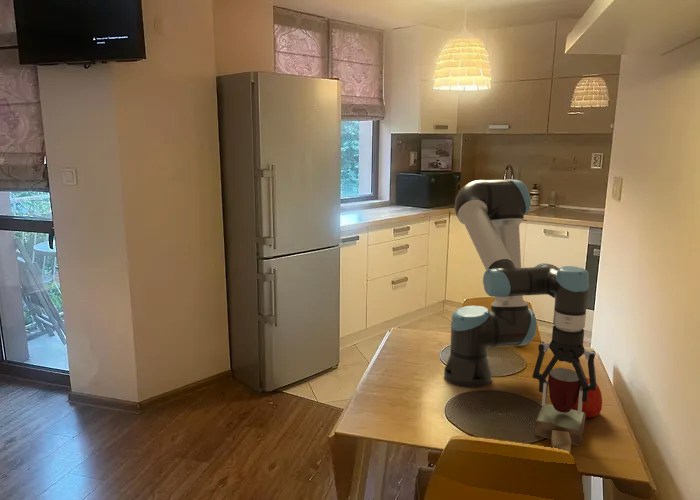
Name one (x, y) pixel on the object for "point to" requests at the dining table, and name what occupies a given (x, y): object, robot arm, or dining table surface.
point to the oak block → (561, 440)
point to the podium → (560, 423)
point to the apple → (591, 402)
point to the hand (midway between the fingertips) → (561, 407)
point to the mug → (563, 388)
